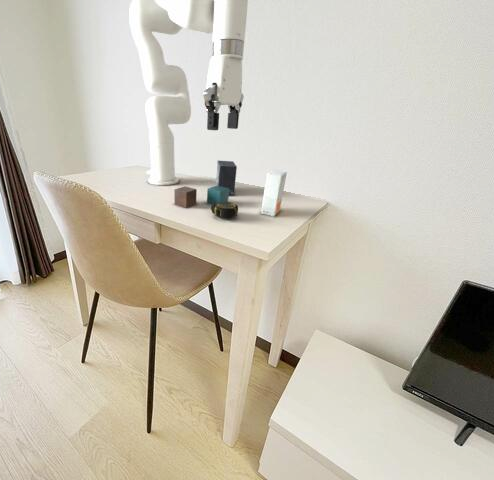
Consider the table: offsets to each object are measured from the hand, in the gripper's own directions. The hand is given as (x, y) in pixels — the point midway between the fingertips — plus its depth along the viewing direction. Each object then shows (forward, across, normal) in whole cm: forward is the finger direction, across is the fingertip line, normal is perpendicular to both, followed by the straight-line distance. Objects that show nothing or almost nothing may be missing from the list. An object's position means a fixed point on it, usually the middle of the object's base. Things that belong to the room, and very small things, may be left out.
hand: (223, 129), depth 70 cm
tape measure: (+23, +4, +5) cm, 24 cm away
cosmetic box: (+23, -8, +14) cm, 28 cm away
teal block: (+23, -4, -3) cm, 23 cm away
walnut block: (+23, +4, -10) cm, 25 cm away
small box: (+23, -17, -9) cm, 30 cm away
